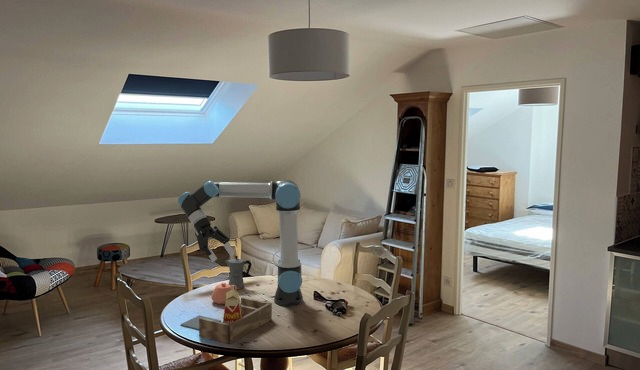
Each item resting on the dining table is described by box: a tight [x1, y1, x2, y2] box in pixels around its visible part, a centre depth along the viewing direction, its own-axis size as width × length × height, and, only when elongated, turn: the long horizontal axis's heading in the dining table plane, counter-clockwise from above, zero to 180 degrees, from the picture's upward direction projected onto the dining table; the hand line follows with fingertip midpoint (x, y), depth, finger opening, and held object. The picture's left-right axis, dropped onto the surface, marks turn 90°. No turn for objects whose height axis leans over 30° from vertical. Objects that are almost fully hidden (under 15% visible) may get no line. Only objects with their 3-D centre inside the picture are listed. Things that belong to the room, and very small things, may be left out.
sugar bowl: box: [211, 282, 238, 306], centre depth 273 cm, size 12×14×10 cm
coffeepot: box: [224, 255, 252, 290], centre depth 297 cm, size 15×9×18 cm, turn 82°
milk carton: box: [222, 286, 242, 324], centre depth 234 cm, size 9×9×20 cm
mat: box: [180, 314, 222, 331], centre depth 243 cm, size 13×13×1 cm
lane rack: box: [198, 296, 273, 345], centre depth 240 cm, size 17×32×8 cm, turn 153°
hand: (224, 257), depth 245 cm, fingers open, 13 cm apart
